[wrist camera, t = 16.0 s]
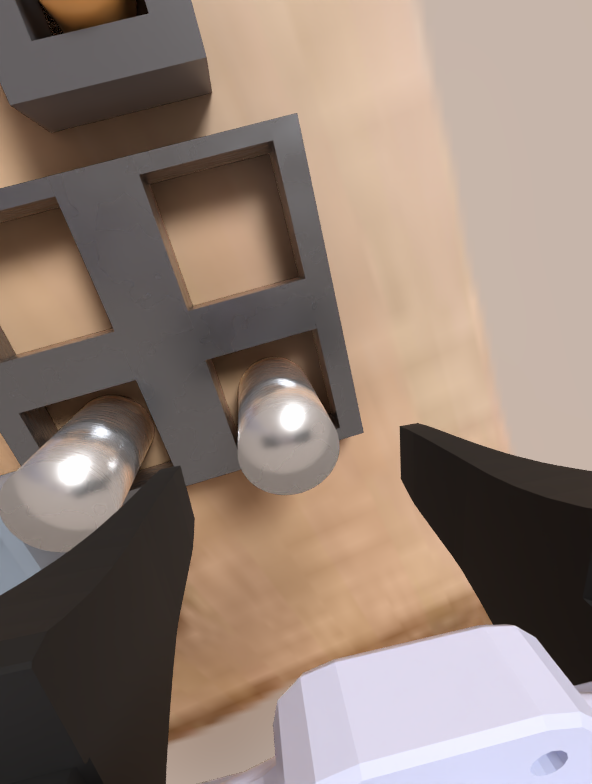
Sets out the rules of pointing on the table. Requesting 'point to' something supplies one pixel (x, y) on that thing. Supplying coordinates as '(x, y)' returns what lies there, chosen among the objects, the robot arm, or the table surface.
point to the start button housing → (100, 63)
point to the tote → (19, 556)
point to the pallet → (173, 303)
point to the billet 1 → (78, 475)
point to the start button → (88, 12)
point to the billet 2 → (283, 429)
